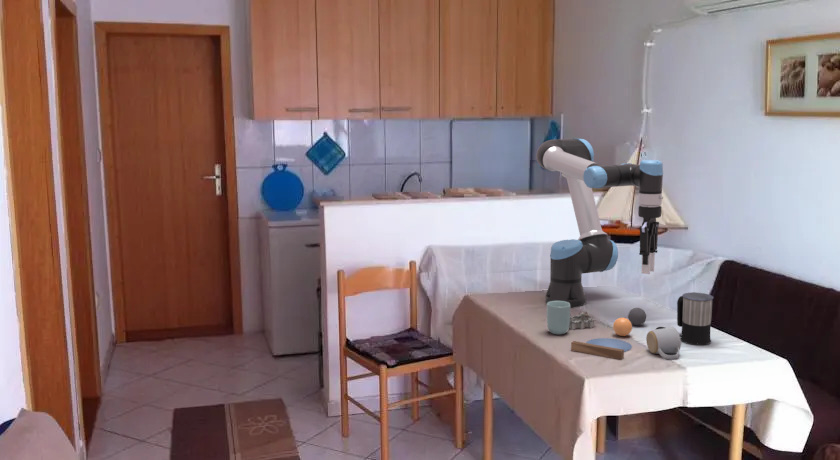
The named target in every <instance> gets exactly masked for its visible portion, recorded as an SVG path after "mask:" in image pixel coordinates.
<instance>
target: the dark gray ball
mask: <svg viewBox="0 0 840 460" xmlns="http://www.w3.org/2000/svg"><path fill="white" fill-rule="evenodd" d="M627 319H628V320H629V321H630V322H631V324H632V326H633V325H634V326H641V325H644V324H645V322H647V321H646V320H647V314H646V311H645V310H644V309H642V308H640V307H634V308H632V309H630V310H629V312H628V314H627Z"/></svg>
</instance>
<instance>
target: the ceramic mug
mask: <svg viewBox="0 0 840 460" xmlns="http://www.w3.org/2000/svg"><path fill="white" fill-rule="evenodd" d="M655 329H656V328H655ZM655 329H652V330H650V331H648V332H647V334H646V337H645V338H646V345H647V348H648V350H649V351H650V353H652V354H655V355H660V356H661V358H663V359H666V360H676V359H677V358H678V357H679V354H680V350H681V346H682V343H681V342H682V341H681V340H680V338H681V337H680V335H681V334H679V331H678V329H677V328H676V327H674V326H669V327H666V328H663V329H656V330H655ZM670 354H671V355H670ZM672 354H673V355H672Z"/></svg>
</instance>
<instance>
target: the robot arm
mask: <svg viewBox="0 0 840 460" xmlns="http://www.w3.org/2000/svg"><path fill="white" fill-rule="evenodd" d="M535 157H536V162H537V163H538V165H539V166H540V167H541V168H543V169H545V170H547V171H550V172H556V171H557V172H560V173H561V176H562V177H563V178H565V179H566V182H567V185H568V191H569V193H570V194H569V195H570V198H571V203H572V208H573V212H574V215H575V218H576V223H577V227H578V232H579V238H578V239H575V238H573V239H571V238H570V239H562V240H559V241H555V242H554V243H552V245H551V247H550V254H549V257H550V269H549V270H550V276H549V277H550V278H549V279H550V280H549V281H550V282H549V285H548V287H547V290H546V293H545V297H544V298H545V300H544V301H545V303H546V304H547V303H548V302H550V301H566V302H569V303H570V308H572V307H573V308H574V307H580V306H581V307H582V306H584V305H585V304H586V303H587V296H586V293H585V289H584V287H583V283H582V276H583V275H582V274H590V273H598V272H599V273H602V272H605V271H610V270H612V269H613V268H614V267H615V266H616V264H617V261H618V259H619V250H618V246H617V244H616V243H615V241H614V240H611V239H609V235H608V233H606V232H605V231H604V230H603V229H602V225H601V221H600V215H599V212H598V208H597V204H596V200H595V196H594V192H593V189H603V188H612V187H613V188H615V187H633V186H634V187H638V189H639V190H638V205H639V206H638V214H637V215H638V217H640V218H642V219H643V221H642V223H641V225H640V226H639V253H638V254H639V256H641V274H646V275H650V274H651V272H655V254H657V253H658V252H659V251H658V250H657V249H658V240H659V239H658V238H659V237H658V235H659V224H660V221H657V219H659V218H661V216H662V206H661V205H662V200H663V199H664V196H662V195H663V177H664V170H663V168H664V167H663V166H664V164H663V162H662V161H661V160H657V159H643V160H641V161H640V162H639V164H634V163H625V162H624V163H621V164H613V165H612V164H611V165H603V164H600V163H598V162H594V160H595V159H594V158H595V152H594V148H593V146H592V144H591V143H590V142H589V141H588V140H586V139H583V138H575V137H574V138H564V139H563V138H562V139H561V138H560V139H550V140H546V141H544V142H542V143H541V144H540V145H539V146H538V148H537V150H536V154H535Z"/></svg>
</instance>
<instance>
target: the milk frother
mask: <svg viewBox="0 0 840 460" xmlns="http://www.w3.org/2000/svg"><path fill="white" fill-rule="evenodd" d="M713 299H714V296H713V295H711V294H707V293H705V292H704V293H703V292H694V291H693V292H685V293H683V294H682V295H681V296H679V297H678V299H677V301H676V304H677V305H676V306H677V307H676V313H677V314H676V315H677V316H676V317H677V318H676V320H677V321H676V322H677V323H676V324H677V326H678V327H681V334H679V335H680V340H681V342H682V343H685V344H690V345H695V346H704V345H705V346H707V345H709V344H711V343H712V339H711V326H712V325H711V324H712V313H713V311H712V310H713ZM663 328H667V327H664V326H657V327H656V328H654V330H656V329H663Z"/></svg>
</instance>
